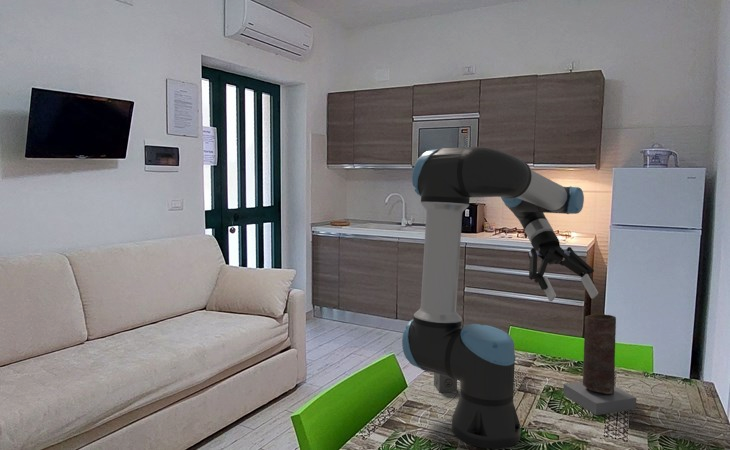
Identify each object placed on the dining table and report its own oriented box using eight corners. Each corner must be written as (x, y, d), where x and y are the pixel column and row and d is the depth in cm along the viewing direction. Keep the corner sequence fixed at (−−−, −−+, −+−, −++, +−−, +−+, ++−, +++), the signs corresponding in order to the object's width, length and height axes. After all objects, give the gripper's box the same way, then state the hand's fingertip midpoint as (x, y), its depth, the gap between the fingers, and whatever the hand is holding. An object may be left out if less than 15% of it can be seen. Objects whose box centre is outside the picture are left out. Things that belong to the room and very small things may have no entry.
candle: (595, 398, 120) (598, 319, 119) (575, 386, 127) (578, 312, 126) (620, 394, 122) (624, 317, 121) (599, 383, 130) (602, 310, 128)
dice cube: (457, 391, 132) (457, 373, 131) (439, 392, 131) (439, 374, 130) (450, 384, 137) (451, 366, 136) (433, 385, 136) (434, 367, 135)
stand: (595, 415, 118) (596, 403, 118) (563, 394, 129) (563, 384, 129) (635, 409, 121) (636, 397, 121) (600, 389, 133) (601, 379, 132)
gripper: (571, 243, 153) (604, 301, 139) (500, 246, 146) (528, 307, 133) (583, 228, 147) (619, 287, 134) (511, 230, 140) (541, 292, 127)
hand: (574, 297), depth 133 cm, fingers open, 13 cm apart
